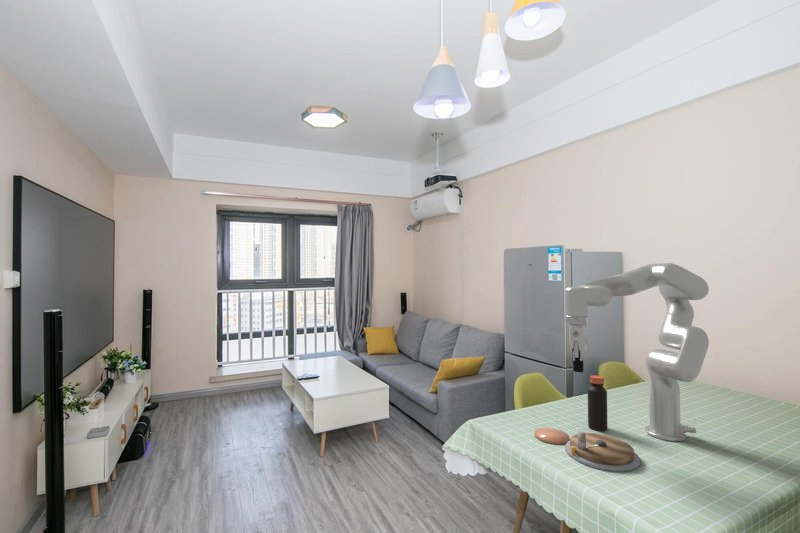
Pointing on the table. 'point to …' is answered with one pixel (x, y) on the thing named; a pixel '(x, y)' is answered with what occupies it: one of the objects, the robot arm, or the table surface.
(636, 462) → the wheel base
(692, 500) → the table surface
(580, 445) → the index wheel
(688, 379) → the robot arm
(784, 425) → the table surface
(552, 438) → the peach dome
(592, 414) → the vinegar
